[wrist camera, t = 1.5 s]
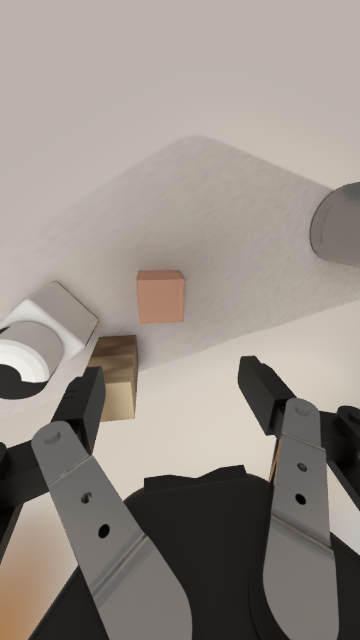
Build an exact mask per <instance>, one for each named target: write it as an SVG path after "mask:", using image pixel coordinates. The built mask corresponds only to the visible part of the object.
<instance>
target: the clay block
mask: <svg viewBox="0 0 360 640" xmlns="http://www.w3.org/2000/svg"><path fill="white" fill-rule="evenodd" d="M137 288H138V302H139V316H140V324H145V323H166V322H183V319H184V278H183V277H182V275H181V274H180V272H179V270H169V271H139V273H138V278H137Z"/></svg>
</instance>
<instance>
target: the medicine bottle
mask: <svg viewBox="0 0 360 640" xmlns="http://www.w3.org/2000/svg"><path fill="white" fill-rule="evenodd" d="M97 323H98V319H97V318H96V317H95V316H94V315H92V314H91V313H90V312H89V311H88V310H87V309H86V308H85V307H84V306H83V305H81V304H80V303H79V302H78V301H77V300H76V299H75V298H74V297H73V296H72V295H70V294H69V293H68V292H67V291H66V290H65V289H64V288H63V287H62V286H61V285H59V284H58V283H57V282H52V283H50V284H49V285H47V286H45V287H44V288H42V289H41V290H39V291H37V292H36V293H34V294H32V295H31V296H29V297H28V298H26V299H24V300H23V301H22V302H21V303H20V304H19V305H18V306H17V307H16V308H15V309H14V310H13V311H11V312H10V313H9V314H8V315H7V316H6V317H5V318H4V319H3V320H2V321H1V322H0V398H3V399H11V400H15V399H23V398H28V397H31V396H34V395H36V394H38V393H39V392H41V391H42V390H43V389H44V388H45V386H46V385H47V383H48V382H49V380H50V378H51V377H52V375H53V374H54V373H55V372H56V371H57V370H58V369H60V368H61V367H62V366H63V365H65V364H66V363H67V362H68V361H70V360H71V359H72V358H73V357H74V356H76V355H77V354H78V353H79V352H81V351H82V350H83V349H84V348H85V347H86V345H87V343H88V341H89V339H90V337H91V335H92V333H93V331H94V329H95V327H96V325H97Z"/></svg>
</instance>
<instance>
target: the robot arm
mask: <svg viewBox="0 0 360 640" xmlns="http://www.w3.org/2000/svg"><path fill="white" fill-rule="evenodd" d="M310 234H311V243H312V247H313V249H314V251H315V252H316V254H317V255H318V256H319V257H321V258H323V259H324V260H328V261H332V262H337V263H341V264H346V265H350V266H355V267H359V268H360V182H357V183H352V184H348V185H344V186H342V187H340V188H338V189H336V190H335V191H334V192H332V193H331V194H330V195H329V196H328V197H327V198H326V199H325V200H324V201H323V202H322V204H321V205H320V207H319V208H318V210H317V212H316V214H315V216H314V219H313V222H312V225H311V232H310ZM238 385H239V388H240V389H241V392H242V393H243V395H244V397H245V399H246V401H247V402H248V404H249V406H250V408H251V410H252V411H253V413H254V415H255V417H256V418H257V420H258V422H259V424H260V426H261V427H262V429H263V431H264V433H265V435H266V436H268V435H275V436H276V438H277V439H276V444H275V449H274V454H273V460H272V465H271V471H270V476H269V481H266V480H265V479H263V478H260V477H258V476H255V475H252V474H248V473H246V470H245V468H244V465H237V466H229V467H223V468H218V469H216V470H214V471H212V472H210V473H207V474H205V475H203V476H201V477H198V478H190V477H182V476H176V475H163V476H156V477H149V478H144V487H143V488H141V489H139V490H137V491H136V492H134V493H132V494H131V495H130V496H129V497H127V498H126V499H125V500H124V501H122V499H121V498H120V496H119V495H118V493H117V492H116V490H115V488H114V487H113V485H112V484H111V482H110V481H109V479H108V478H107V476H106V475H105V473H104V471H103V470H102V468H101V467H100V465H99V464H98V462H97V461H96V459H95V458H94V456H93V455H92V453H93V448H94V444H95V440H96V436H97V432H98V428H99V423H100V419H101V415H102V411H103V407H104V403H105V398H106V387H105V381H104V375H103V369H102V366H92V367H86V369H85V372H84V374H83V376H82V377H76V378H75V379H74V380H73V381H72V382H71V383H69V385H68V387H67V389H66V391H65V393H64V395H63V397H62V400H61V402H60V404H59V406H58V408H57V410H56V412H55V414H54V416H53V418H52V420H51V422H50V423H49V424H47V425H45V426H44V427H42V428H41V429H40V430H39V431H38V432H37V433H36V434H35V435H34V437H33V439H32V440H29V441H27V442H24V443H21V444H19V445H16V446H13V447H10V448H6V446H5V444H3V443H2V442H0V564H1V561H2V558H3V555H4V553H5V551H6V548H7V545H8V543H9V540H10V538H11V535H12V533H13V530H14V527H15V525H16V522H17V520H18V517H19V514H20V512H21V509H22V507H23V504H24V503H25V502H27V501H29V500H32V499H34V498H36V497H38V496H40V495H43V494H45V493H47V492H50V494H51V497H52V499H53V502H54V504H55V507H56V509H57V512H58V514H59V517H60V519H61V522H62V524H63V527H64V529H65V532H66V534H67V537H68V539H69V542H70V545H71V547H72V549H73V552H74V555H75V557H76V560H77V562H78V566H77V568H76V569H75V571H74V572H73V574H72V575H71V577H70V578H69V580H68V581H67V582H66V584H65V585H64V587H63V588H62V590H61V591H60V593H59V594H58V596H57V597H56V599H55V600H54V602H53V603H52V605H51V606H50V608H49V609H48V611H47V612H46V614H45V615H44V617H43V618H42V620H41V621H40V623H39V624H38V626H37V627H36V629H35V630H34V631H33V633H32V635H31V636H30V637H29V639H28V640H360V555H358V554H357V553H356V552H355V551H354V550H352V549H351V548H350V547H349V546H347V545H346V544H345V543H344V542H343V541H341V540H340V539H339V538H338V537H336V536H335V535H334V534H333V533H332V532H330V528H329V508H328V488H327V466H326V463H327V464H328V466H329V467H330V469H331V470H332V471H333V473H334V474H335V476H336V477H337V479H338V480H339V482H340V483H341V485H342V486H343V488H344V489H345V490H346V492H347V493H348V495H349V496H350V498H351V499H352V501H353V502H354V504H355V505H356V507H357V508H358V509H359V511H360V409H358V408H355V407H352V406H340V407H339V408H338V410H337V413H329V412H324V411H318V409H317V408H316V407H315V406H314V405H313V404H312V403H310V402H308V401H306V400H304V399H300V398H297V397H296V396H295V395H294V394H293V392H292V391H291V390H290V389H289V388H288V387H287V386H286V384H285V383H284V382H283V381H282V380H281V378H280V377H279V376H277V374H276V373H275V371H274V370H273V369H272V368H271V367H269V366H267V365H266V364H264V363H263V364H261V363H260V361H259V360H258V359H257V357H256V356H242V357H241V359H240V365H239V372H238Z"/></svg>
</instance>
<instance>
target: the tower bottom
mask: <svg viewBox="0 0 360 640" xmlns="http://www.w3.org/2000/svg"><path fill="white" fill-rule="evenodd" d="M119 355H134V362H135V373H136V384H137V377H138V354H137V342H136V335H130V336H112V337H99V339H98V341H97V344H96V346H95V348H94V351H93V353H92V355H91V357H103V356H119Z"/></svg>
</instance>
